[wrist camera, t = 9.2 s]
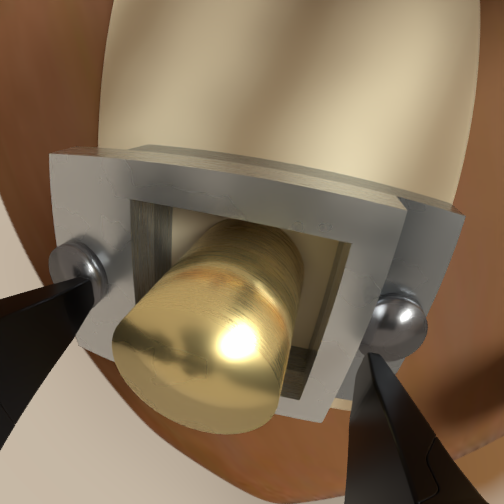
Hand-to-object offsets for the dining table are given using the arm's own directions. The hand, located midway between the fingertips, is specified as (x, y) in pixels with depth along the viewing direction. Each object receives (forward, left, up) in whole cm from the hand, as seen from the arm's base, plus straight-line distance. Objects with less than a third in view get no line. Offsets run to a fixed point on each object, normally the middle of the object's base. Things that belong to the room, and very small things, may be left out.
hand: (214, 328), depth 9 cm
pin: (0, 0, -4) cm, 4 cm away
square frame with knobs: (0, 0, -5) cm, 5 cm away
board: (0, -4, -5) cm, 6 cm away
